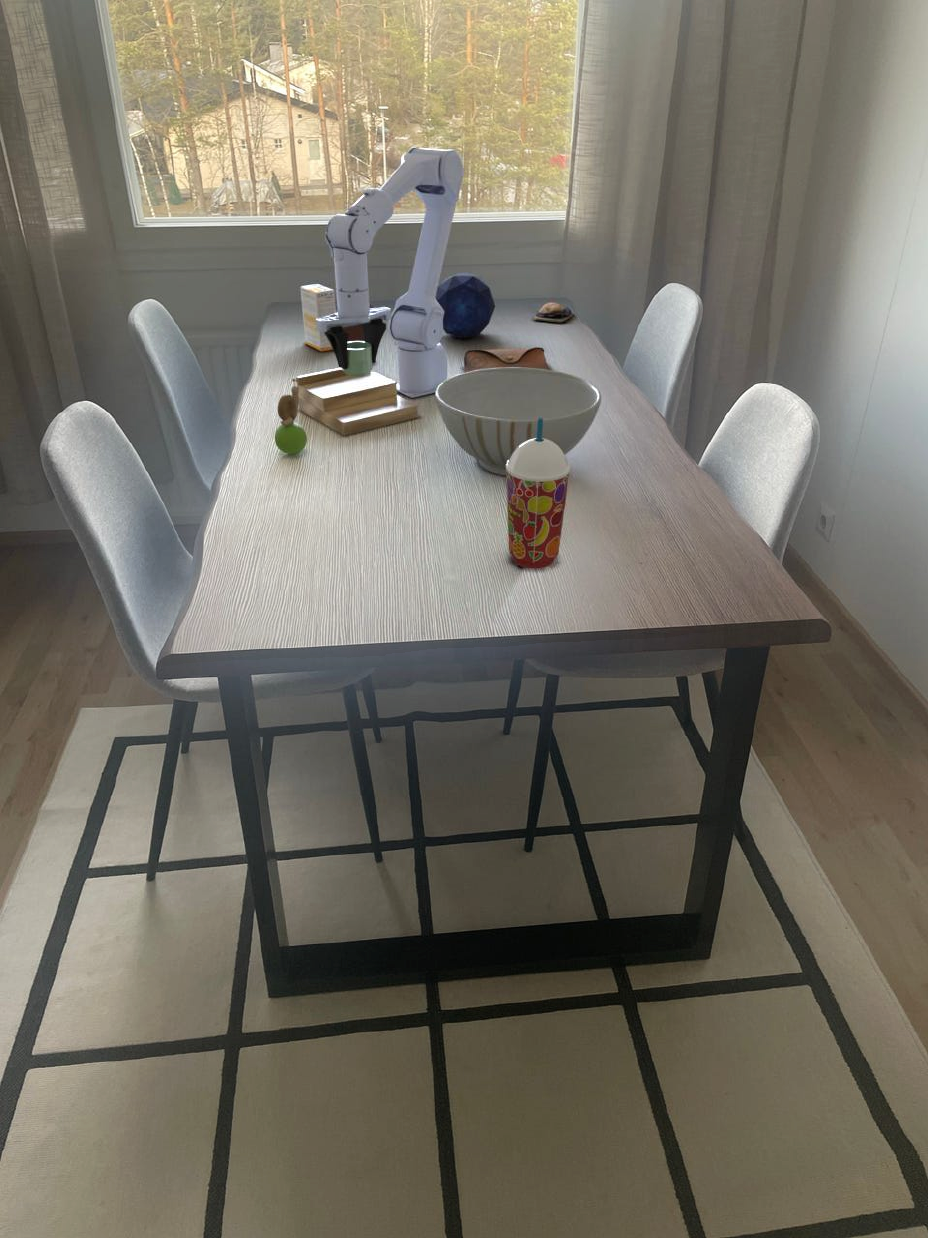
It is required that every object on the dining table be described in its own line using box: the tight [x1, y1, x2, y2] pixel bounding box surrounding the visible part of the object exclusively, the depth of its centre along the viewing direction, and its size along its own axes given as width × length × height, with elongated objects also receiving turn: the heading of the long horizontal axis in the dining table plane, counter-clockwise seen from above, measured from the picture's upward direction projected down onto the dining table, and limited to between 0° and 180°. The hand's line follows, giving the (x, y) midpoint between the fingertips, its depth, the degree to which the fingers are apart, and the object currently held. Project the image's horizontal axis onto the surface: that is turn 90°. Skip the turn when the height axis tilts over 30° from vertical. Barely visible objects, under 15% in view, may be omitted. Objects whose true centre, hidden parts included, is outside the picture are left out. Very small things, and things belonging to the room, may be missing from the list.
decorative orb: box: [435, 271, 496, 340], centre depth 218 cm, size 14×15×15 cm
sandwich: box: [533, 302, 573, 323], centre depth 235 cm, size 11×8×4 cm
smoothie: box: [505, 418, 572, 570], centre depth 121 cm, size 8×8×20 cm
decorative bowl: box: [434, 367, 602, 476], centre depth 152 cm, size 27×27×12 cm
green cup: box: [342, 341, 374, 376], centre depth 169 cm, size 6×6×5 cm
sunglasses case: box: [463, 346, 550, 373], centre depth 198 cm, size 18×7×7 cm
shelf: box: [295, 367, 419, 437], centre depth 173 cm, size 17×16×6 cm
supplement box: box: [299, 283, 337, 352], centre depth 210 cm, size 8×5×13 cm, turn 34°
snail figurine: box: [274, 378, 308, 455], centre depth 155 cm, size 5×6×12 cm
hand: (356, 364), depth 170 cm, fingers closed on green cup, 5 cm apart
